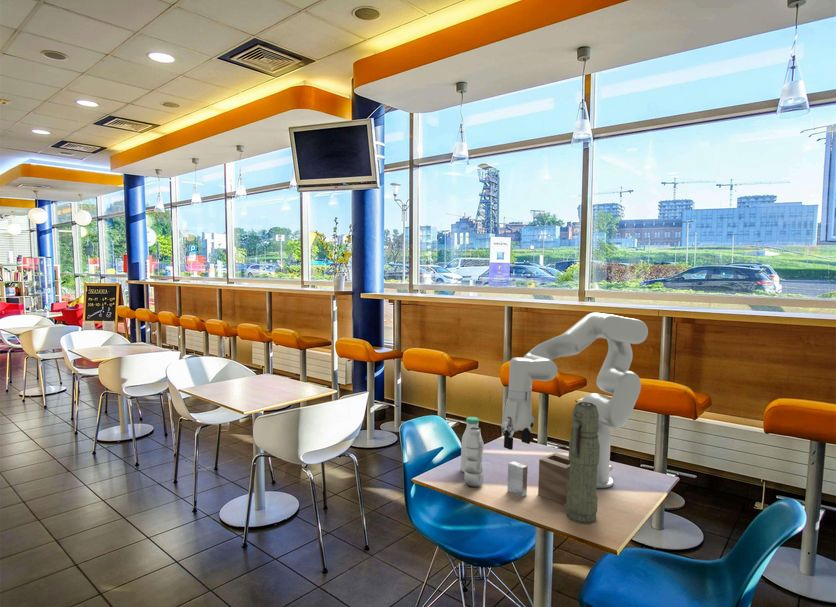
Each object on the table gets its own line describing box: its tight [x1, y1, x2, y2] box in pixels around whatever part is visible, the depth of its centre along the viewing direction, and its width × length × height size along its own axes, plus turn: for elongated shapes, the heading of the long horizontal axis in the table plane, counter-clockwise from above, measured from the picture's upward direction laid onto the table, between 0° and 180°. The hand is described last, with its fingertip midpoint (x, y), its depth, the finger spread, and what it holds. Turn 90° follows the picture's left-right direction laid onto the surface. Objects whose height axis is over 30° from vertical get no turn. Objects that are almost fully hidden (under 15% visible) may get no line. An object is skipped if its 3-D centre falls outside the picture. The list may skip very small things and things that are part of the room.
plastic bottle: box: [463, 426, 485, 487], centre depth 177 cm, size 6×7×20 cm
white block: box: [507, 460, 528, 498], centre depth 171 cm, size 2×6×10 cm, turn 43°
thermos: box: [566, 401, 600, 525], centre depth 155 cm, size 9×12×35 cm
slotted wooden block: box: [537, 452, 570, 505], centre depth 170 cm, size 10×10×12 cm
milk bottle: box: [460, 416, 482, 474], centre depth 190 cm, size 8×8×20 cm
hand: (517, 445), depth 170 cm, fingers open, 9 cm apart
